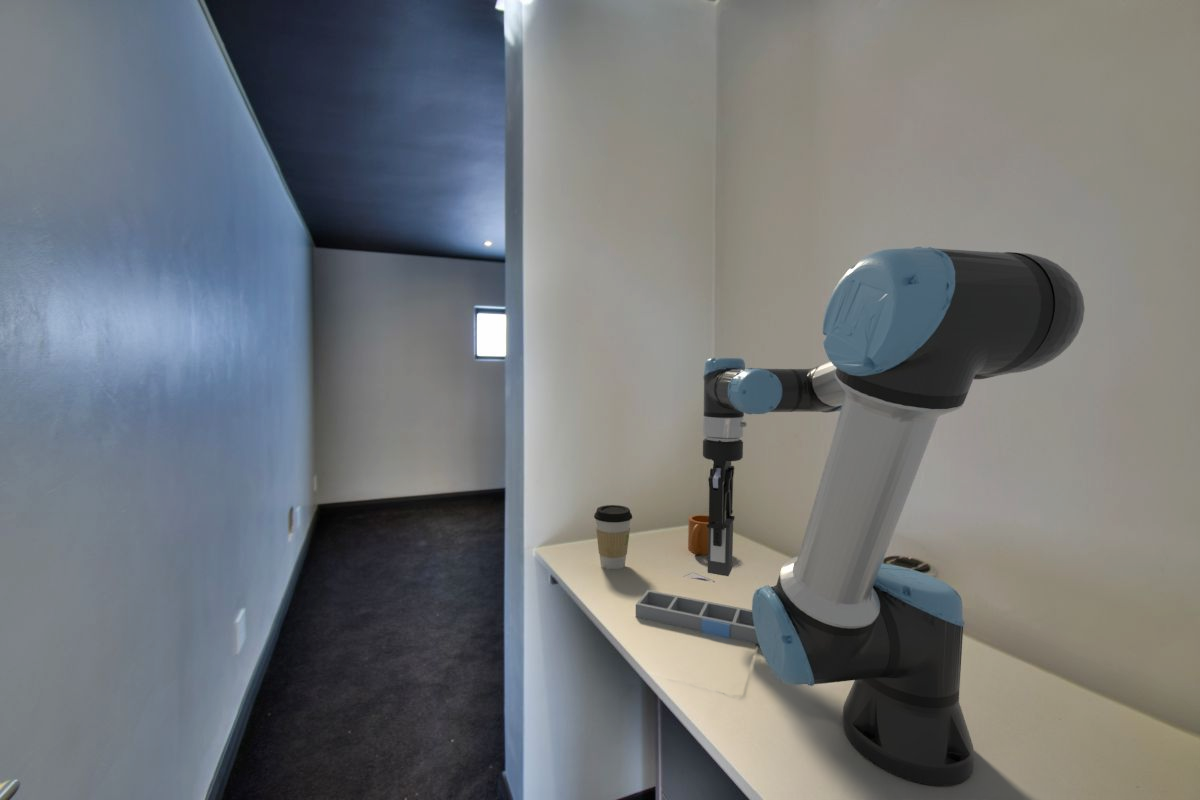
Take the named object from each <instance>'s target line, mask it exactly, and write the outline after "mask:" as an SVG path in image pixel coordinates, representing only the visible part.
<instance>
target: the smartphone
mask: <svg viewBox="0 0 1200 800" xmlns="http://www.w3.org/2000/svg"><path fill="white" fill-rule="evenodd" d="M682 578H687V579H694V580H700V581H704V582H710V583H716V581H715V580H713V579H711V578H709V577H705V576H703V575H700V574H698V573H696V572H690V573H688V574H686V575H683V576H682Z"/></svg>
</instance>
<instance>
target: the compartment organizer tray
mask: <svg viewBox="0 0 1200 800" xmlns="http://www.w3.org/2000/svg"><path fill="white" fill-rule="evenodd" d="M635 618H638V619H639V618H640V619H642V620H648V621H653V622H657V623H661V624H666V625H670V626H675V627H679V628H683V629H689V630H694V631H699V632H701V633H704V634H708V635H712V636H717V637H723V638H727V639H730V638H732V639H735V640H740V641H745V642H749V643H754V644H755V645H754V646H755V647H758V648H760V645H759V642H758V639H757V635H756V631H755V627H754V621H753V614H752V609H749V608H743V607H739V606H734V605H733V606H732V605H728V604H723V603H717V602H713V601H707V600H701V599H696V598H691V597H687V596H682V595H676V594H671V593H666V592H661V591H656V590H651V589H647V590H646V591H645V592H644V593H643V595H642V596H641V597H640V598H639V600H638V601H637V602H636V603H635Z"/></svg>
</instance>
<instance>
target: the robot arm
mask: <svg viewBox="0 0 1200 800" xmlns="http://www.w3.org/2000/svg"><path fill="white" fill-rule="evenodd" d="M1084 300H1085V299H1084V296H1083V293H1082V291H1081V288H1080V286H1079V284H1078V282H1077V281H1076V280H1075V278H1074V277H1073V276H1072V275H1071V273H1069V272H1068V271H1067V270H1066V269H1065V268H1063V267H1062V266H1060V265H1059V264H1058V263H1056V262H1054V261H1052V260H1049V259H1048V258H1045V257H1042V256H1039V255H1036V254H1032V253H1027V252H1026V253H1024V252H1012V251H1010V252H1009V251H1008V252H1007V251H1006V252H998V251H997V252H996V251H981V250H962V249H948V248H936V247H935V248H934V247H931V246H930V247H921V246H915V247H911V248H910V247H909V248H906V247H905V248H888V249H887V248H886V249H881V250H879V251H876V252H872V253H871V254H868V255H867V256H865V257H863V258H862V259H860V260H859V261H858V262H857V263H856V265H855V264H854V265H853V266H851V267H850V268H849V269H848V270H847V271H846V272H845V273H844V275H842V277H841V278H840V279H839V281H838V283H837V284H836V286H835V288H834V289H833V291H832V294H831V295H830V297H829V299H828V302H827V305H826V307H825V312H824V316H823V322H822V334H823V335H824V336H826V337H825V339H824V341H823V348H824V352H825V354H826V356H827V358H828V360H829V361H827V362H825V363H823V364H820V365H817V366H814V367H813V368H761V367H756V368H755V367H747V368H746V363H745V361H744V359H743V358H739V357H716V358H714V357H711V358H710V357H709V358H708V359H707V360H705V363H704V374H703V378H702V379H703V417H702V418H703V421H702V435H703V436H704V437H705V438H704V439H703V440H702V457H703V458H704V459H706V460H710V461H712V462H713V463H712V464H713V465H712V468H710V470H709V476H708V480H707V481H708V488H709V489H708V493H709V494H708V515H709V523H708V524H707V528H711V553H710V561H715V562H722V563H725V554H726V528H725V513H726V518H728V519H733V522H734V521H735V515H733V512H734V511H733V496H734V475H735V469H736V468H735V466H734V465H732V462H738V461H740V460H742V459H743V458H744V457H743V456H744V441H743V440H742V439H741V438H742V437H744V428H745V427H747V422H745V421H743V420H744V417H745V416H744V415H745V414H746V415H764V414H765V415H766V414H768V413H793V412H794V413H795V412H796V413H797V412H798V413H799V412H801V413H802V412H803V413H804V412H805V413H807V412H808V413H812V412H815V413H818V412H820V413H835V412H839V415H838V418H837V422H836V426H835V428H834V432H833V436H832V439H831V443H830V446H829V450H828V454H827V456H826V460H825V464H824V465H823V466H824V467H823V470H822V474H821V476H820V477H821V478H820V481H819V484H818V488H817V490H816V494H815V497H814V501H813V505H812V508H811V511H810V514H809V519H808V521H807V526H806V528H805V533H804V535H803V538H802V542H801V546H800V550H799V553H798V555H797V556H794V557H792V558H790V559H788V560H787V561H785V563H783V565H782V567H781V569H780V572H779V575H778V578H777V583H776V584H775V585H774V586H770V585H768V584H767V585H764V586H763V587H762V586H761V587H759V588H757V589H756V590H755V591H754V593H753V596H752V603H751V610H752V614H753V621H754V627H755V631H756V635H757V639H758V642H759V645H760V647H759V648H760V651H761V652H762V655H763V658H764V659H765V662H766V663H767V666H768V667H769V668H770V670H771V672H772V673H773V674H774V675H775V677H776V678H777V679H778V680H780V681H781V682H783V683H784V684H787V685H790V686H798V685H801V686H802V685H807V686H808V687H813V686H814V685H820V684H821V685H822V684H830V683H831V684H832V683H840V682H851V681H853V682H852V683H853V684H852V686H851V687H850V690H849V693H848V695H847V697H846V699H845V701H844V704H843V709H842V729H843V732H844V733H845V735H846V736H845V737H847V739H848V740H849V742H850V743H851V744H852V745H853V747H854V748H855V749H856V750H857V751H858V753H860V754H861V755H863V756H864V757H865V758H866V759H867V760H869V761H870V762H872V763H873V764H874V765H876V766H878V767H879V768H881V769H883V770H885V771H887V772H888V773H891V774H893V775H895V776H898V777H900V778H903V779H905V780H908V781H912V782H915V783H919V784H923V785H930V786H937V787H938V786H939V787H941V786H942V787H943V786H944V787H946V786H954V785H958V784H961V783H964V782H965V781H966V780H968V779H969V778H970V776H971V775H972V773H973V771H974V759H975V758H974V756H975V755H974V753H975V752H974V751H975V750H974V745H973V741H972V738H971V736H970V731H969V729H968V726H967V722H966V720H965V717H964V713H963V711H962V707H961V704H960V703H961V702H960V688H961V686H960V685H961V670H962V669H961V668H962V667H961V666H962V652H963V651H962V650H963V637H964V636H963V634H964V627H965V621H964V620H963V617H964V616H963V614H964V613H963V599H962V597H961V595H960V594H959V593H958V591H957V590H955V587H952V586H951V585H950V584H948V583H946V582H944V580H941V579H939V578H937V577H934V576H933V575H930V574H928V573H925V572H921V571H918V570H915V569H911V568H908V567H903V566H899V565H894V564H888V563H883V562H884V559H885V557H886V553H887V552H888V548H889V546H890V543H891V541H892V538H893V535H894V533H895V530H896V528H897V525H898V523H899V520H900V517H901V514H902V512H903V509H904V507H905V504H906V502H907V500H908V497H909V494H910V491H911V488H912V486H913V483H914V481H915V479H916V476H917V473H918V471H919V468H920V465H921V462H922V459H923V457H924V454H925V453H926V450H927V448H928V445H929V442H930V440H931V437H932V434H933V431H934V429H935V426H936V423H937V421H938V419H939V417H941V416H943V415H945V414H949V413H952V412H954V411H957V410H960V409H961V408H962V407H963V405H964V403H965V401H966V398H967V397H968V393H969V391H970V389H971V386H972V384H973V381H974V380H975V381H977V380H985V379H989V378H994V377H997V376H998V377H999V376H1003V375H1009V374H1015V373H1016V374H1017V373H1022V372H1027V371H1031V370H1035V369H1037V368H1039V367H1042V366H1044V365H1046V364H1048V363H1049V362H1051V361H1053V360H1055V359H1056V358H1057V357H1059V356H1061V355H1062V354H1063V353H1064V352H1065V351H1066V350H1067V349H1068V348H1069V347H1070V346H1071V344H1072V343H1073V342H1074V341H1075V339H1076V338H1077V336H1078V334H1079V332H1080V329H1081V327H1082V325H1083V323H1084V317H1085V315H1084V314H1085V301H1084Z"/></svg>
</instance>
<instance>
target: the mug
mask: <svg viewBox="0 0 1200 800" xmlns="http://www.w3.org/2000/svg"><path fill="white" fill-rule="evenodd" d="M708 523H709V514H694V515H690V516H689V517H688V529H687V530H688V532H687V533H688V534H687V535H688V536H687V537H688V538H687V549H688V551H689V552H691V553H692V554H695V555H697V556H698V555H700V556H701V555H702V556H708V528H707V524H708Z"/></svg>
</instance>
